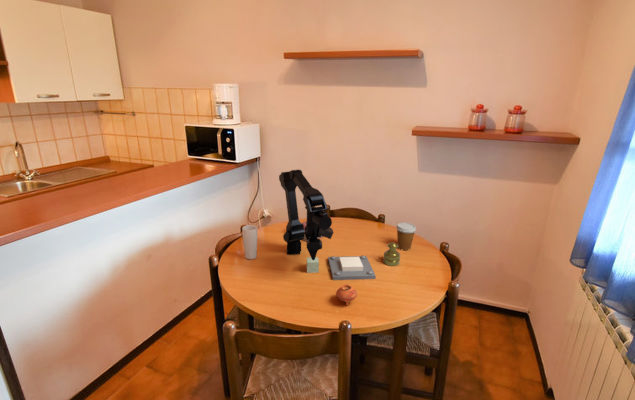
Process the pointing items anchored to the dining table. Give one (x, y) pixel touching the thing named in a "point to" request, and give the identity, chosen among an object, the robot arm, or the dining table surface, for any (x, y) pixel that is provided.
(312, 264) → the sage brick
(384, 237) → the dining table surface
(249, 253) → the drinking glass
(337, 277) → the tower base
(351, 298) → the pot
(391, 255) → the green tiered ornament
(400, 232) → the disposable coffee cup
